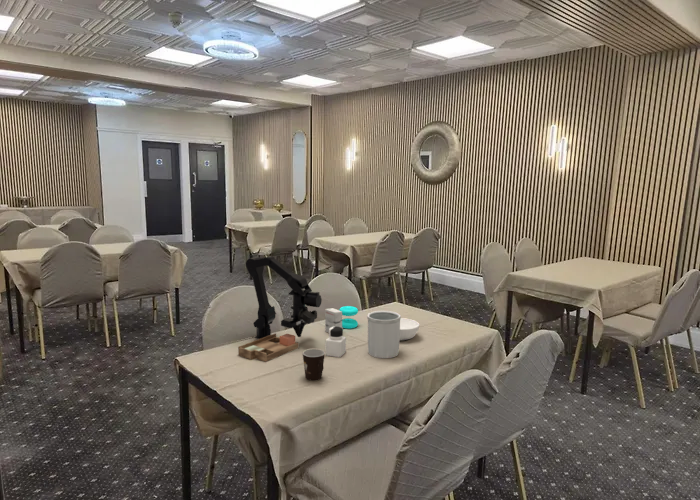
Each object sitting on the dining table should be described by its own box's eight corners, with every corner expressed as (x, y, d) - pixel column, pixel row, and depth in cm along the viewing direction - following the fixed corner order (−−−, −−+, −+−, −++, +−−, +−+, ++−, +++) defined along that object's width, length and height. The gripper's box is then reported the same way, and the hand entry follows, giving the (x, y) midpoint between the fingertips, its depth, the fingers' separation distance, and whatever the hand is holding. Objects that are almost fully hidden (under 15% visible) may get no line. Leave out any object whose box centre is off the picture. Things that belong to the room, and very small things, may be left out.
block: (279, 343, 209) (279, 336, 208) (287, 340, 213) (287, 333, 212) (287, 346, 206) (287, 338, 206) (295, 343, 210) (295, 335, 210)
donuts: (359, 306, 246) (356, 311, 236) (359, 324, 247) (355, 330, 238) (341, 304, 248) (337, 309, 238) (341, 322, 249) (336, 328, 240)
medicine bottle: (345, 352, 207) (346, 326, 205) (340, 357, 200) (340, 331, 199) (331, 349, 209) (331, 324, 208) (325, 355, 203) (325, 329, 201)
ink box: (342, 333, 231) (343, 311, 229) (334, 335, 228) (335, 312, 226) (332, 329, 238) (332, 307, 236) (324, 331, 235) (324, 308, 233)
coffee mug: (302, 372, 184) (302, 348, 183) (324, 372, 185) (324, 348, 183) (302, 385, 173) (302, 360, 171) (325, 385, 173) (325, 359, 172)
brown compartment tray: (238, 355, 201) (238, 346, 200) (275, 341, 219) (275, 333, 219) (262, 363, 193) (262, 354, 192) (298, 348, 211) (298, 339, 210)
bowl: (376, 340, 223) (377, 326, 222) (388, 329, 240) (388, 316, 239) (413, 346, 216) (414, 331, 215) (422, 334, 233) (423, 320, 232)
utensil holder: (361, 356, 203) (362, 317, 200) (372, 345, 216) (373, 308, 214) (394, 361, 198) (395, 321, 195) (402, 349, 211) (404, 312, 209)
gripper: (298, 312, 201) (298, 346, 204) (325, 303, 216) (324, 335, 219) (280, 307, 208) (280, 341, 210) (307, 299, 223) (306, 330, 225)
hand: (299, 336), depth 216 cm, fingers closed
